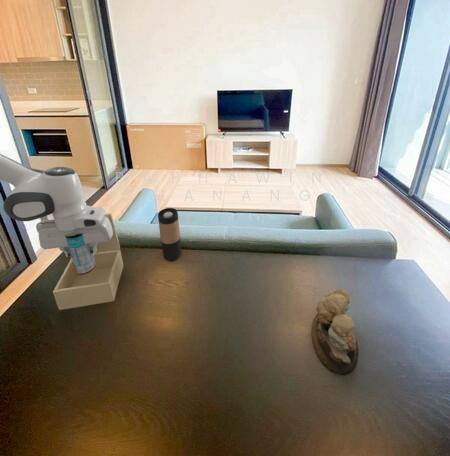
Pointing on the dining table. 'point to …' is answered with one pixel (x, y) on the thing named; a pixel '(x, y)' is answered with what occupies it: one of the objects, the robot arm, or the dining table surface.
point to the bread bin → (90, 282)
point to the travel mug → (170, 233)
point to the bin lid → (112, 243)
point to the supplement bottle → (80, 254)
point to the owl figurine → (335, 333)
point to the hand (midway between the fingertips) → (82, 253)
